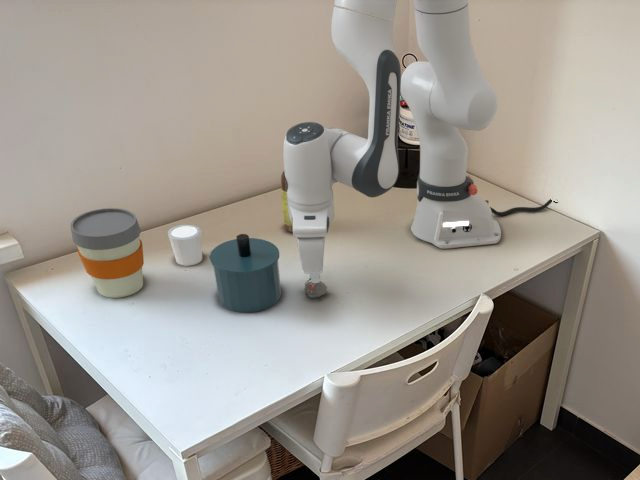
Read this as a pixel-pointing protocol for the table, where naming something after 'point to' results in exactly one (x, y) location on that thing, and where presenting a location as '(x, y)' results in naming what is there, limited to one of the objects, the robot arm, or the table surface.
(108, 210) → the reusable coffee cup
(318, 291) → the figurine
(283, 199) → the sauce bottle
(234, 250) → the pot lid
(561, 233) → the table surface
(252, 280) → the pot
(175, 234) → the white cylinder
